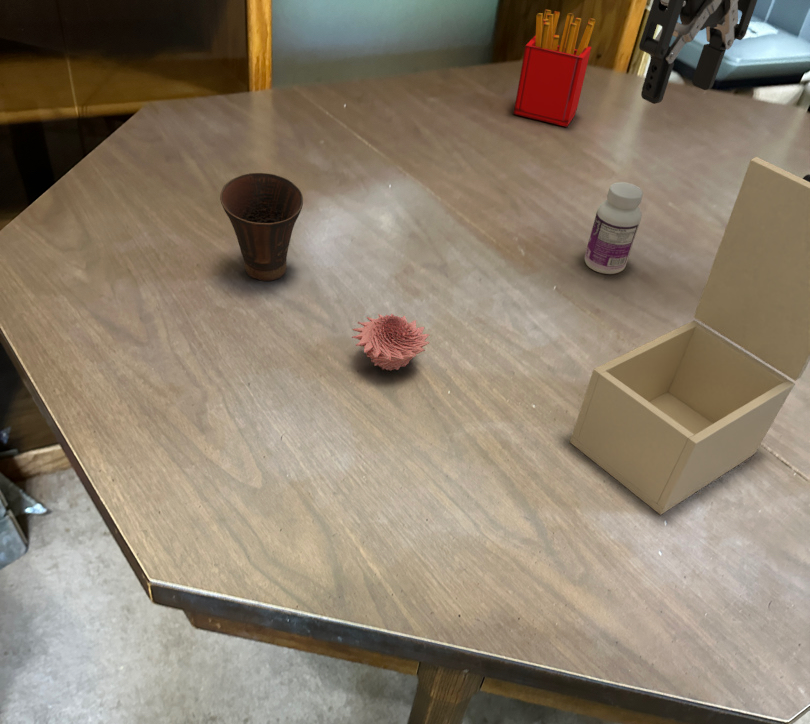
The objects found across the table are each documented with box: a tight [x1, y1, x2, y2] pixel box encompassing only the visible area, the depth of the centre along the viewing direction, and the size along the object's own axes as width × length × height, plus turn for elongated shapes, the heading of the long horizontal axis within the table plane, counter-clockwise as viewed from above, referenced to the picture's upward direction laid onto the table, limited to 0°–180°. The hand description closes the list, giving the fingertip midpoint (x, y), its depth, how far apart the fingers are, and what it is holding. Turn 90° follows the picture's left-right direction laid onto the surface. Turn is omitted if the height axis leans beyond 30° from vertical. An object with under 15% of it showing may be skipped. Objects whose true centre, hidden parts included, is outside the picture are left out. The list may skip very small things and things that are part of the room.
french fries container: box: [513, 9, 597, 128], centre depth 123 cm, size 7×9×14 cm
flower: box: [351, 313, 430, 372], centre depth 79 cm, size 8×8×6 cm
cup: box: [219, 172, 304, 282], centre depth 86 cm, size 9×9×10 cm
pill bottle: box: [584, 181, 644, 275], centre depth 94 cm, size 5×5×10 cm
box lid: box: [693, 156, 810, 382], centre depth 67 cm, size 15×12×6 cm
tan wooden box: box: [569, 320, 796, 516], centre depth 72 cm, size 15×12×9 cm
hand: (676, 93), depth 79 cm, fingers open, 8 cm apart
